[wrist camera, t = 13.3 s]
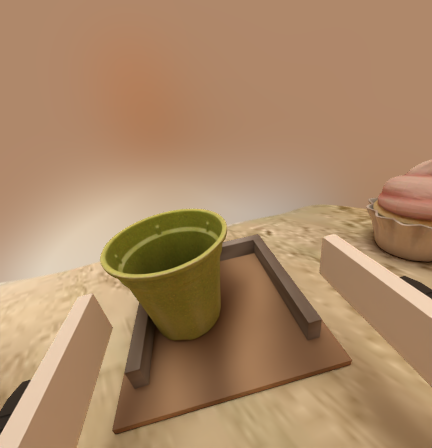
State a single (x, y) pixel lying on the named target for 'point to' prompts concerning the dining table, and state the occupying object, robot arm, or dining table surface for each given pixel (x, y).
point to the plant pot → (172, 269)
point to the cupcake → (405, 214)
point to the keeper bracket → (228, 344)
